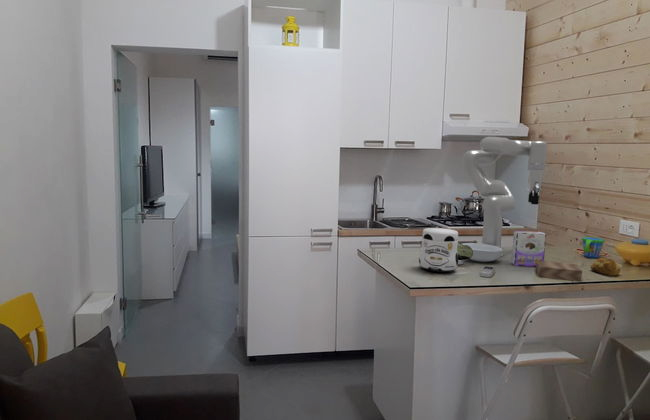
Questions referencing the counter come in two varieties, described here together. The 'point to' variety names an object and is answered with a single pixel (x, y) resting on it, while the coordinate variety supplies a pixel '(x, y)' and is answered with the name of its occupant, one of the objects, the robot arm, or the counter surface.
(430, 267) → the milk container
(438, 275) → the counter surface
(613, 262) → the bread roll
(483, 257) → the serving bowl
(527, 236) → the candy box
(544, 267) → the walnut block
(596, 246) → the snack cup
